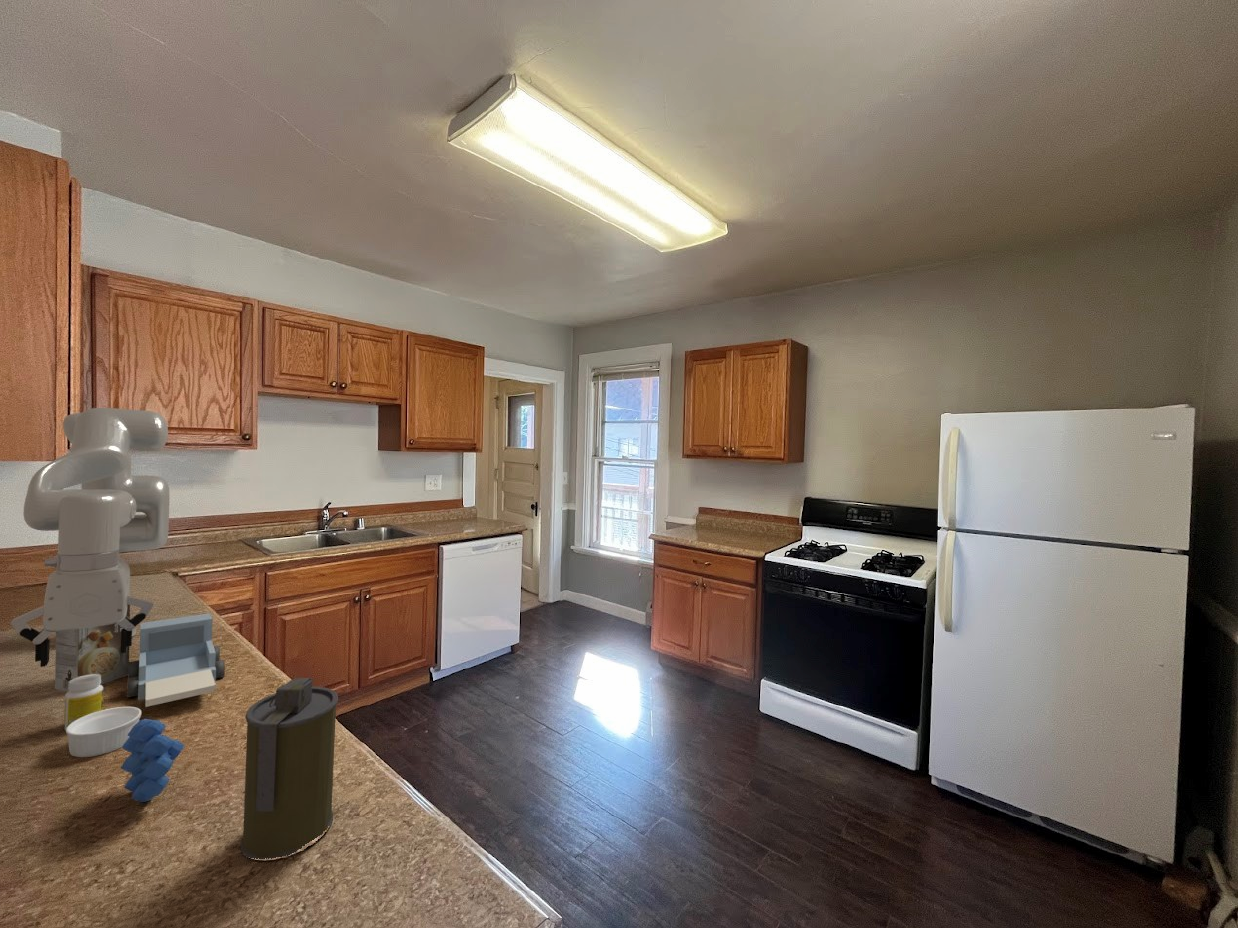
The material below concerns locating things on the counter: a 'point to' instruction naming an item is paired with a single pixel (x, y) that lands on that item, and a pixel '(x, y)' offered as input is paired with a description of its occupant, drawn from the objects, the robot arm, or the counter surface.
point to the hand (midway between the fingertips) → (85, 657)
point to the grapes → (149, 759)
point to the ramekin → (101, 731)
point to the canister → (288, 769)
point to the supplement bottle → (83, 697)
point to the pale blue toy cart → (174, 651)
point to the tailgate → (179, 687)
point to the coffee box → (90, 654)
